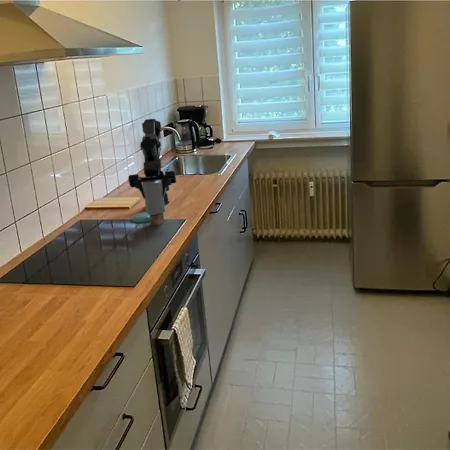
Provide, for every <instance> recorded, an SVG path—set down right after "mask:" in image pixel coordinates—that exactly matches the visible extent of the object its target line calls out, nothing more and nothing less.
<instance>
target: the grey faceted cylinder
mask: <svg viewBox="0 0 450 450" xmlns="http://www.w3.org/2000/svg"><path fill="white" fill-rule="evenodd" d="M142 186H143V191H144V198H143V199H144V203H145V204H144V205H145V212H147V214H149V215H156V214H161V213H163V214H164V213H165V212H166V206H165V205H166V204H164V197H163V189H162V182H161V180H148V181H145V182H142Z"/></svg>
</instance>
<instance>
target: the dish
mask: <svg viewBox="0 0 450 450" xmlns="http://www.w3.org/2000/svg"><path fill="white" fill-rule="evenodd" d="M130 219H131V222H133V223H136V224H138V223H148V222H149V223H150V216H149V214H147V212H146V211H143V212H138V213H135V214H133V215H131V217H130Z"/></svg>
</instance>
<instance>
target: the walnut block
mask: <svg viewBox="0 0 450 450" xmlns="http://www.w3.org/2000/svg"><path fill="white" fill-rule="evenodd" d="M149 216H150V221H149V223H150V225H151V226H160V225H163V224H164V223H165V217H164V213H161V214H156V215H149Z"/></svg>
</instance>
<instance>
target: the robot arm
mask: <svg viewBox="0 0 450 450" xmlns="http://www.w3.org/2000/svg"><path fill="white" fill-rule="evenodd" d="M141 124H142V125H141V126H142V127H141V128H142V132H143V134H144V135H143V137H142V138H141V139H142V140H141V141H140V144H139V148H140V150H141V152H142V155H143V157H144V159H143V160H144V161H143V175H145V176H139V173H135V174H129V175H128V182H129V186H130V187H131V188H135V189H138V190H139V192H140V193H141V196H142V198H143V199H145V198H144V191H143V182H145V181H148V180H161V182H162V189H163V197H164V204H165V205H168V204H170V201H169V197H168V191H170V186H172V184H176V183H177V177H176V175H177V174H176V171H175V170H166V171H164V172H163V170H162V161H161V158H160V150H159V149H161V146H162V143H161V141H160V139H161V136H162V135H161V132H163V130H162V124H161V121H158V120H156V118H149V119H148V118H146V119H144V122H142V123H141Z"/></svg>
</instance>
